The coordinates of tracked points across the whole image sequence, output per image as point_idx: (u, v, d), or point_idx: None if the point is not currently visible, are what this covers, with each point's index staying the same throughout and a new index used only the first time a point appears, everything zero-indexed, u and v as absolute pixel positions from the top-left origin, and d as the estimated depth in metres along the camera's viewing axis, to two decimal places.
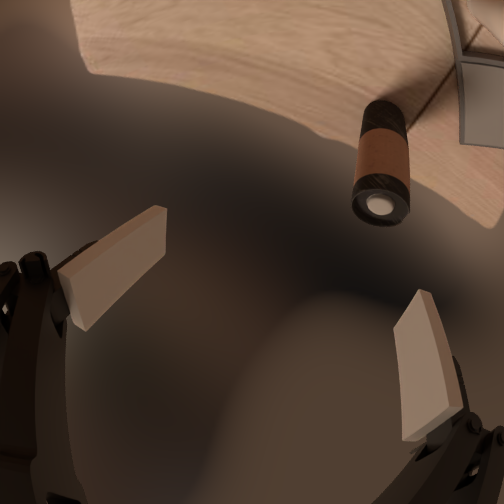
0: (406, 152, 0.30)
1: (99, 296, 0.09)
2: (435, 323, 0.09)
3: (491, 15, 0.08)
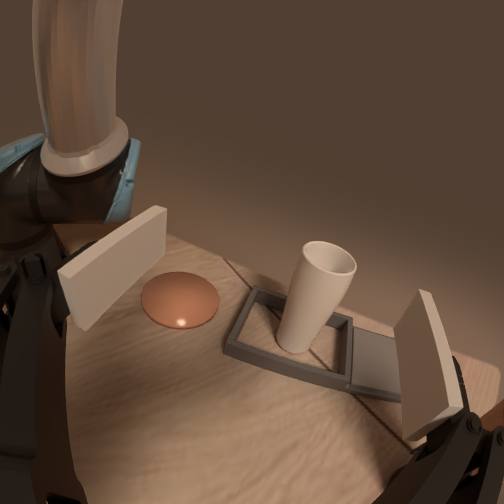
0: None
1: (99, 296, 0.09)
2: (435, 323, 0.09)
3: (308, 297, 0.29)
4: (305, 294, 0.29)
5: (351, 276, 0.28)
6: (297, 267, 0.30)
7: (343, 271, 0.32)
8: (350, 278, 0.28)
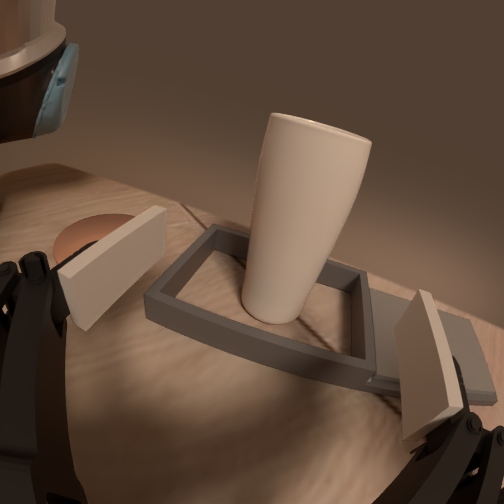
0: None
1: (99, 296, 0.09)
2: (435, 323, 0.09)
3: (285, 189, 0.15)
4: (279, 184, 0.15)
5: (365, 149, 0.14)
6: (263, 143, 0.16)
7: None
8: (364, 153, 0.14)
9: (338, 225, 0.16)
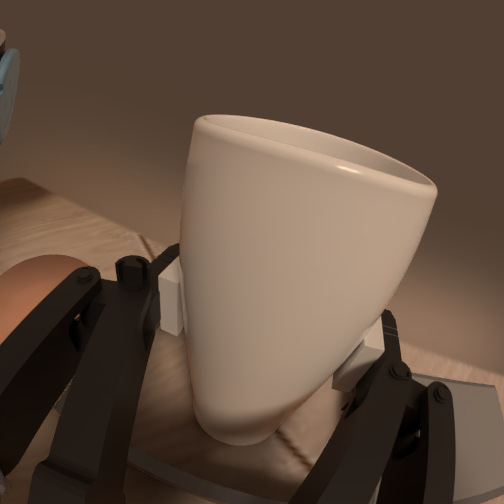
0: None
1: None
2: None
3: (220, 319, 0.06)
4: (208, 304, 0.06)
5: (429, 211, 0.05)
6: None
7: None
8: (425, 221, 0.05)
9: (343, 360, 0.07)
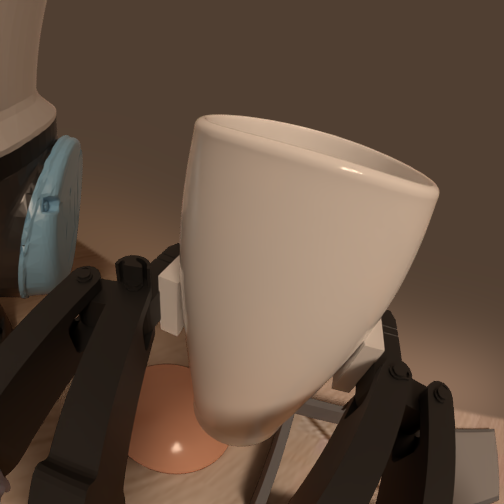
0: None
1: None
2: None
3: (221, 320, 0.06)
4: (209, 305, 0.06)
5: (431, 212, 0.05)
6: None
7: None
8: (427, 222, 0.05)
9: (344, 361, 0.07)
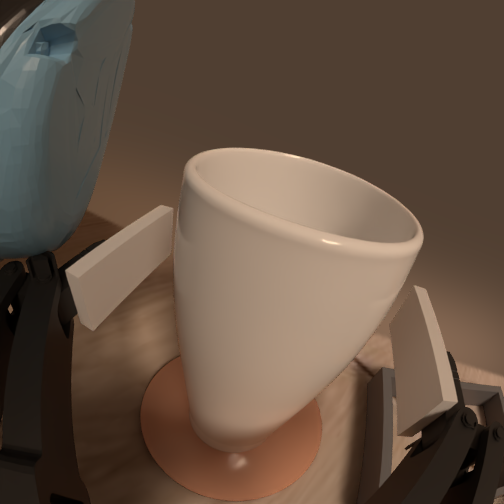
0: None
1: (107, 295, 0.09)
2: (430, 318, 0.09)
3: (213, 357, 0.06)
4: (202, 343, 0.06)
5: (412, 262, 0.05)
6: None
7: None
8: (407, 272, 0.05)
9: (328, 385, 0.08)
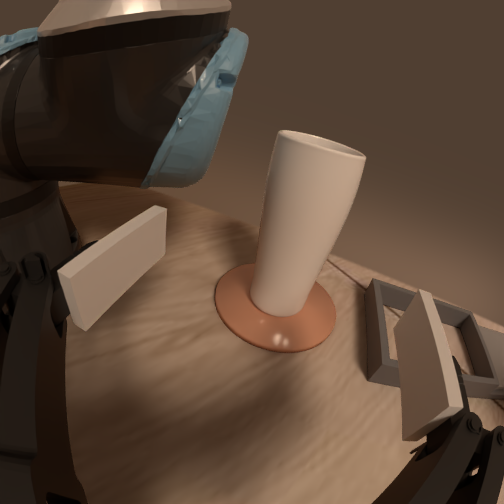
0: None
1: (99, 296, 0.09)
2: (435, 323, 0.09)
3: (292, 200, 0.17)
4: (287, 196, 0.17)
5: (360, 164, 0.16)
6: (272, 158, 0.18)
7: None
8: (359, 168, 0.16)
9: (336, 229, 0.19)
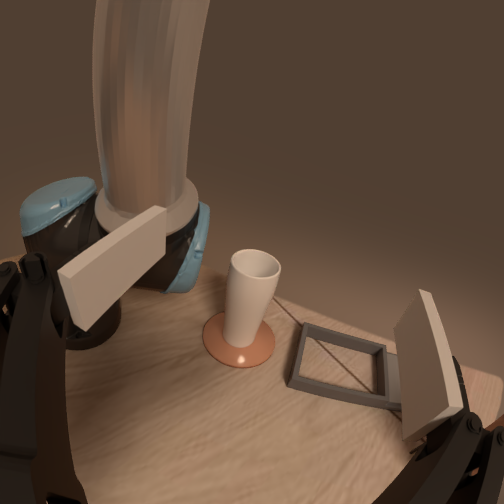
0: None
1: (99, 296, 0.09)
2: (435, 323, 0.09)
3: (237, 298, 0.35)
4: (234, 295, 0.35)
5: (273, 279, 0.34)
6: (228, 272, 0.36)
7: (273, 275, 0.38)
8: (272, 281, 0.34)
9: (263, 308, 0.36)
